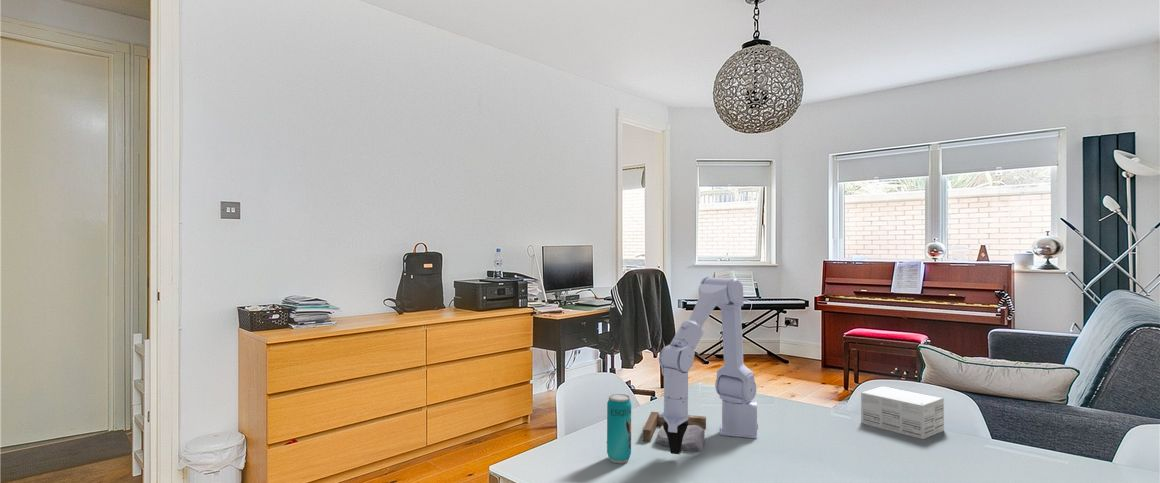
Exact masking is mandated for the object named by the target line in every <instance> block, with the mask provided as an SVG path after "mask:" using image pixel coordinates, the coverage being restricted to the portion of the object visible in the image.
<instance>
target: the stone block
mask: <svg viewBox="0 0 1160 483" xmlns="http://www.w3.org/2000/svg"><path fill="white" fill-rule="evenodd" d="M705 433H706V432H705V429H703V428H701V427H699V426H697V425H688V426H687V429H686V431H685V433H684V436H683V440H682V447H681V450H683V451H687V452H700V451H702V450H703V448H704V443H705V438H706V437H705V436H706V435H705ZM656 443H657V444H658V445H661V446H664V447H665V446H666V447H669V442H668V437H667V434H666V432H665V430H664V428H663V425H660V428H659V430H658V432H657V436H656Z"/></svg>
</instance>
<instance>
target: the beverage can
mask: <svg viewBox="0 0 1160 483" xmlns="http://www.w3.org/2000/svg"><path fill="white" fill-rule="evenodd" d="M630 399H631V396H630V395H627V394H622V393H614V394H610V395H608V400H607V404H606V413H607V414H606V416H607V417H606V419H607V420H606V421H607V422H606V439H607V440H606V454H607V456H608V459H609V460H610V462H611V463H615V464H624V463H627V462H628V461H629V460H630V458H631V454H632V401H631V400H630Z"/></svg>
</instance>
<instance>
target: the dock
mask: <svg viewBox="0 0 1160 483" xmlns="http://www.w3.org/2000/svg"><path fill="white" fill-rule="evenodd" d="M659 412H660V411H659ZM659 412H657V411H650V414H649V416H648V418H647V420H646V422H645V424H644V426H643V429H642V441H643V442H647V443H648V442H651V441H652V438H653V436H654V434H655V432H656V430H657V427H658V426H663V424H664V422H665V419H664V418H663V417H659ZM688 415H689V419H688V420H687V422H688V425H697V426H699V427H701V428H703V429H704V430H706V429H707V416H705V415H704V416H702V415H694V414H693V415H690V414H688Z"/></svg>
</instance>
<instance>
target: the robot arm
mask: <svg viewBox="0 0 1160 483" xmlns="http://www.w3.org/2000/svg"><path fill="white" fill-rule="evenodd" d="M743 285H744V284H743V283H742V282H741V281H740V280H739V278H736V277H733V278H730V277H711V276H704V277H702V279H701V281H700V283H699V285H698V299H697V300H696V303H695V305H694V307H693V310H692V313H691V315H690V317H689V319H688V320H685V321H682V322H681V324H680V326H679V328H678V329H677V331H676V333H675V335H674V337H673V338H672V340H671V342H670V343H669V344H667V345H666V346H664V347H663V348H662V349H661V350H660V354H659V357H658V363H659V366H660V367H661V374H662V376H663V411H659V417H663V418H664V419H665V422H664V424H663V425H662V426H663V428H664V430H665V432H666V434H667V437H668V442H669V446H668V447H669V452H670V454H672V455H680V454H681V447H682V440H683V436H684V433H685V431H686V429H687V426H688V422H687V420H688V419H689V415H690V414H689V401H688V400H689V371H690V370H691V368H692V367H693V366H694V358H695V355H696V351H695V349H696V347H698V345H699V342H700V341H701V339H702V337H703V336H704V331H703V329H702V328H703V326H704V324H705V322H706V321H707V320H708V318H709V316H710V315H711V313H712V312H713V310H715V308H716V307H718V308H719V309H720V311H721V328H722V329H721V330H722V331H721V332H722V348H723V350H722V351H723V365H722V366H720V367H719V368H718V369H717V370H716V380H715V388H714V389H715V392H716V393H717V395H719V399H720V400H721V424H720V436H727V437H737V438H738V437H739V438H748V439H757V438H758V430H759V423H758V405H757V404H758V403H757V402H758V401H754V398H755V397H756V394H757V388H758V387H757V384H756V381H755V377H754V371H752V370H751V369H750V368H749V367H747V366H746V365H745V364H744V348H743V347H744V345H743V327H742V326H743V325H742V321H743V320H742V307H744V305H745V304H744V286H743Z"/></svg>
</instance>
